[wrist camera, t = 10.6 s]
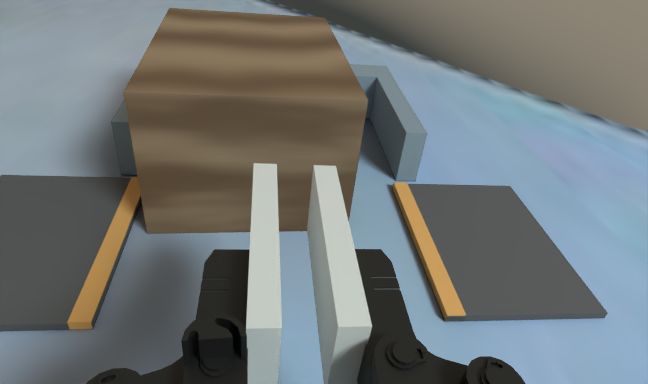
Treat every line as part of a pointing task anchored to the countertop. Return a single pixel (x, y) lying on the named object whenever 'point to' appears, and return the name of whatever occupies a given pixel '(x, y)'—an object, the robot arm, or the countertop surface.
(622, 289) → the countertop surface
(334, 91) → the walnut block
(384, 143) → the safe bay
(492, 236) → the mats
